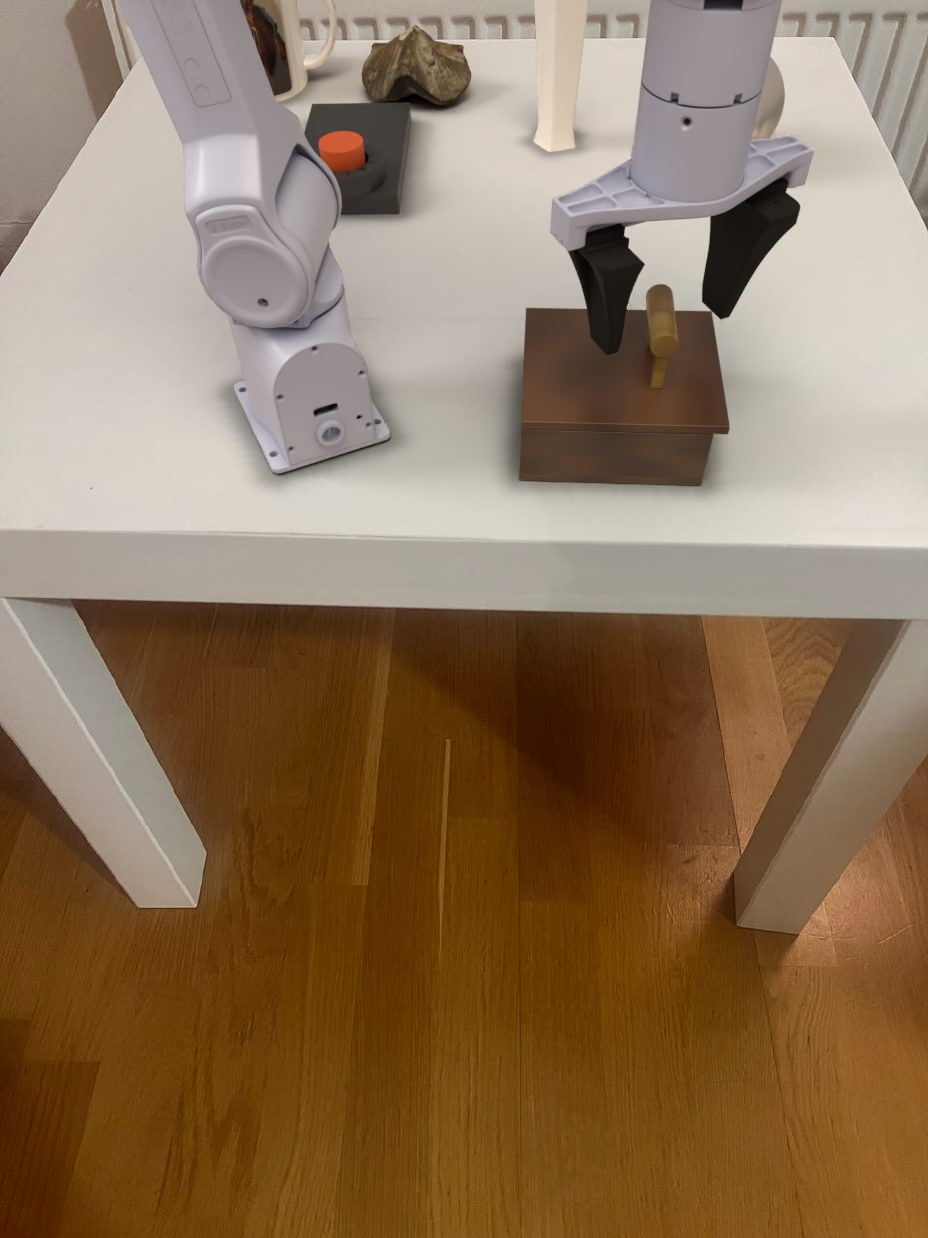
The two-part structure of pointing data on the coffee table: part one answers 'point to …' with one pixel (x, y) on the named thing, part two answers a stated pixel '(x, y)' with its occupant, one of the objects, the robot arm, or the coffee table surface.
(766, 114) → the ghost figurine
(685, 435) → the wooden case
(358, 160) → the button
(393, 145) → the control box
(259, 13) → the mug
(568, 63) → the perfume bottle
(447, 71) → the fossilized seashell
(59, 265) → the coffee table surface
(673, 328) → the case lid
